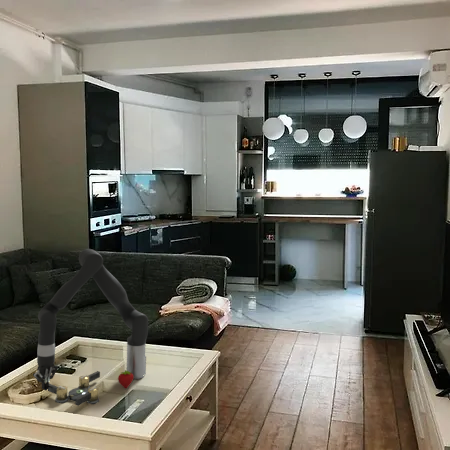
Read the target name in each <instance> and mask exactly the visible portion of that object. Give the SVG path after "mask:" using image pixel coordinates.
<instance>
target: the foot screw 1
mask: <svg viewBox="0 0 450 450" xmlns="http://www.w3.org/2000/svg"><path fill="white" fill-rule="evenodd" d="M47 392H49V393H52V394H54V395H56V397H57V400H65V399H67V396H68V387H67V386H66V385H63V386H62V385H59V386H57V385H55V384H52V383H50V382H49V388H48V391H47Z"/></svg>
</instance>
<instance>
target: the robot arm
mask: <svg viewBox="0 0 450 450" xmlns="http://www.w3.org/2000/svg"><path fill="white" fill-rule="evenodd" d="M78 262H79V264H80V266H81V267H80V269H79V270H78V271H77V272H76V273H75V275H74V276H73V277H71V278H70V279H69V280H68V281H66V282H65V283H64V284H63V285H62V286H61V287H60V288H59V289H58V290H57V291H56V293H55V294H54V295H53V297H52V298H51V299H50V300H49V301H48V302H46V304H44V306H43V307H41V309H40V311H39V312H38V315H37V318H38V321H39V333H38V343H37V354H36V355H37V356H36V361H37V362H36V364H37V371H36V372H33V373H32V376H33V377H34V378H35V379H36V381H37V382H39V383H41V389H42V390H43V389H44V390H43V391H47V389H48V388H49V383H50V382H51V380H52V379H53V378H54V377H55V375H56V373H57V371H58V369H59V366H58V365H55V362H56V343H55V341H56V340H55V339H56V330H57V329H56V327H57V314H58V313H59V311H61V310H63V309H65V308H66V306H67V305H68V304H69V303H70V302H71V300H72V299H73V297H74V296H76V294H77V292H79V290H81V289H82V287H83V286H84V285H85V284H86V283H87V282H88V281H89V280H90V279H91V278H92V279H93V280H94V281H95V283H96V285H97V287H98V288H99V290H100V291H101V292H102V294H103V295H104V297H105V298H106V299H107V300H108V302H109V303H110V304H111V306H113V308H114V309H115V310H116V311H117V312H118V314H119V315H120V317H121V319H122V320H123V323H124V324H125V326H126V327H128V328H129V329H131V335H130V336H128V337H127V340H126V369H125V370H126V371H129V372H130V373H132V374H133V377H134V378H133V380H139V379H143V378H144V377H145V375H146V373H147V372H146V371H147V356H146V347H147V345H146V344H147V343H146V342H147V338H148V336H149V335H148V333H149V319H148V316H147V315H146V314H145V313H142V312H140V311H138V310H137V309H136V308H135V307H134V306H133V305H132V304H131V302H130V301H129V298H128V294H127V291H126V289H125V288H124V287H123V285H122V284H121V282H120V281H119V280H118V279H117V278H116V277H115V276H114V275H113V274H112V273H111V272H110V271H109V270H108V269H107V268H106V267H105V265H104V258H103V256H102V255H101V254H100V253H98V252H97V251H96V250H95V249H91V248H85V249H83V250H81V252H80V253H79V254H78ZM143 375H144V376H143Z"/></svg>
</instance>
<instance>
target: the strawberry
mask: <svg viewBox="0 0 450 450" xmlns="http://www.w3.org/2000/svg"><path fill="white" fill-rule="evenodd" d="M126 370H127V369H125V370H124V371H122V372H120V374H119V375H118V377H117V380H118V383H119V384H120V386H122V387H123V389H128V388H129V386H130V385H131V383H132V382H133V380H134V379H133V378H134V377H133V374H132V373H130V372H129V371H126Z"/></svg>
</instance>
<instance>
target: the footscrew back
mask: <svg viewBox="0 0 450 450" xmlns="http://www.w3.org/2000/svg"><path fill="white" fill-rule="evenodd" d="M100 377H101V372H100V371H98V370H96V371H94V372H92V373H91V374H85V375H80V376H79V377H78V386H79V388H81V387H83V388H88V387H89V386H90V383H91V382H93V381H95V380H97V379H99V378H100Z"/></svg>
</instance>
